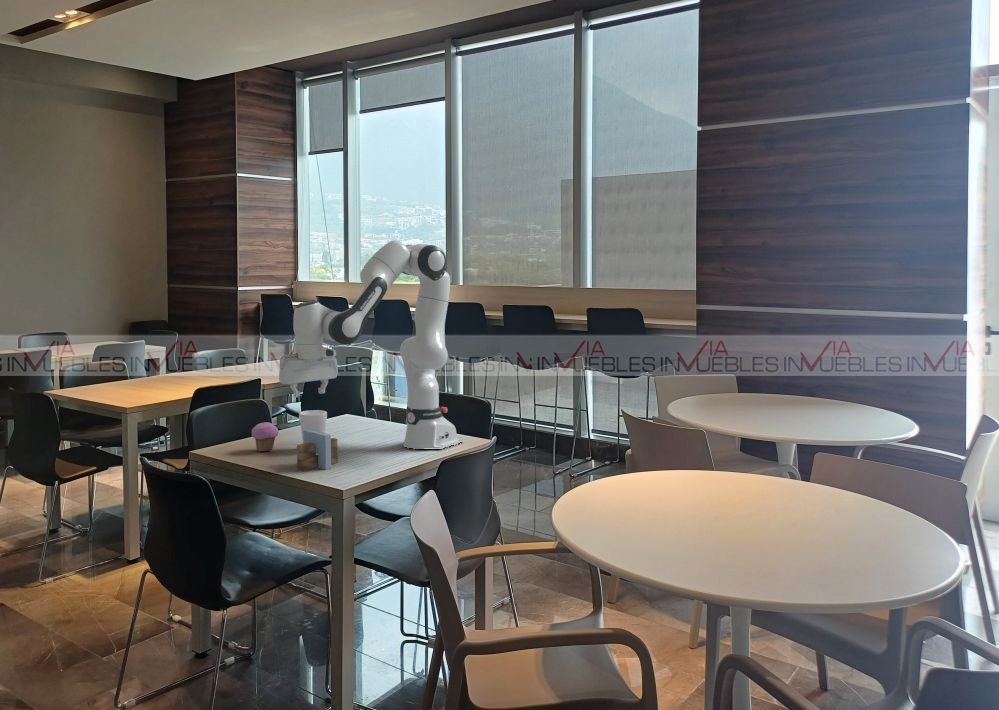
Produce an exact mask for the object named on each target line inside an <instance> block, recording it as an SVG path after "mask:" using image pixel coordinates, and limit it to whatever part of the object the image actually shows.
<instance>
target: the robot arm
mask: <svg viewBox="0 0 999 710" xmlns="http://www.w3.org/2000/svg"><path fill="white" fill-rule="evenodd" d="M362 267H363V268H362V269H361V271H360V273H359V275H360V276H359V277H360V281H361V282H360V283H361V284H362V286H363V290H362V292H361V293H360V295H359V296H358V297H357V298H356V300H355V301H354V302H353V304H352V305H351V306H350V308H348V309H346V310H344V311H337V310H334V309H331V308H328V307H326V306H325V305H323V304H321V303H320V302H319V301H317V300H310V301H303V302H300V303H298V304H297V305H296V306H295V307H294V311H293V325H292V326H293V332H294V340H293V353H290V354H283V356H281V358H279V371H278V373H279V374H278V381H279V382H280V384H282V385H289V388H290V389H291V390H292V393H293V394H292V396H293V397H294V398H299V397H301V391H300V390H298V389H297V387H298V384H299V383H300V384H301V383H308V382H316V381H317V382H318V381H320V382H321V384H320V387H318V388H317V390H318V394H320V395H322V394H326V388H327V385H328V384H329V380H332V379H333V380H334V379H337V376H338V375H339V369H338V368H339V367H338V360H337V358H336V356H337V351H336V349H333V348H329V347H326V346H323V341H324V340H328V341H331V342H336V343H339V344H341V345H351V344H353V343H355V342H356V341H358V339H360V337H361V334H362V332H363V329H364V326H365V324H366V322H367V320H369V319H368V318H369V317H370V316H371V315H372V313H373V312H374V311H375V309H376V308H377V306H378V305H379V304H380V302H381V300H382V299H383V298H384V297H385V295H386V293H387V291H388V290H389V289H390V287H391V286H392V285H393V284H394V283H395V282H396V281H397V279H398V278H399V277H400V276H401V274H404V275H406V276H413V277H418V280H419V289H418V292H417V298H416V304H415V308H414V315H413V321H414V324H415V336H412V337H411V336H410V337H409V338H406V339H404V340H403V341H402V342H401V344H400V347H399V356H400V358H401V359H402V362H403V368H404V373H405V374H404V375H405V378H406V386H407V406H406V421H407V423H406V430H405V437H404V441H403V447H404V448H405V447H407V448H406V449H409V448H414V449H413V450H415V449H424V448H442V447H445V446H447V445H450V444H453V443H456V442H459V441H458V440H459V439H457V437H458V436H457V429H456V426H455V425H454V424H453V423H452V422H450V421H449V420H447V419H446V418H445V417H444V415H443V413H445V414H446V413H447V412H448V410H449V409H448V407H446V406H445V407H444V406H441V407H440V406H439V405H440V404H439V403H440V399H439V398H440V391H439V390H440V389H439V382H438V380H437V379H436V374H435V370H436V371H437V370H439V369H442V368H444V366H445V365H446V363H447V361H448V360H449V359H448V357H449V353H448V350H447V347H446V334H445V333H446V332H445V326H446V319H447V312H448V305H449V301H450V293H451V277H450V274H449V273H448V272H447V257H446V253H445V251H444V250H443V249H442V248H441V247H439V246H437V245H433V244H423V243H417V244H407V245H405V244H404V243H402V242H401V241H399V240H390V241H388V242H386V244H384V245H383V246H381V247H380V248H379V249H378V250H377V251H376V252H375V253H374V254H373V255H372V256H371V257H370V258H369V259H368V260H367V262H366V263H365V265H363V266H362Z"/></svg>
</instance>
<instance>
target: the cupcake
mask: <svg viewBox="0 0 999 710" xmlns="http://www.w3.org/2000/svg"><path fill="white" fill-rule="evenodd" d="M278 435H279V429H278V427H277V426H275V425H274V424H273V423H271V422H266V421H264V422H260V423H258V424H256V425H255V426H254V427H253V428H251V437H252V438H254V440H255V446H256V450H257V451H258V450H260V451H259V452H261V451H264V452H267V451H270V452H271V451H273V449H274V445H275V440H276V437H277V436H278Z"/></svg>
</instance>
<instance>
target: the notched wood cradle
mask: <svg viewBox="0 0 999 710" xmlns="http://www.w3.org/2000/svg"><path fill="white" fill-rule="evenodd" d="M338 455H339V453H338V438H336V437H335V438H334V437H331V465H335V464H338V461H339V460H338ZM296 465H297V466H296V467H297V468H296V470H298V471H300V472H302V471H306V470H311V469H312V470H313V469H315V468H316V469H317V468H318V454H316V455H314V443H311V442H310V443H304V444H303V443H301V444H296Z"/></svg>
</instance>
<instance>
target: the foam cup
mask: <svg viewBox="0 0 999 710" xmlns="http://www.w3.org/2000/svg"><path fill="white" fill-rule="evenodd" d="M298 420H299V423H300V431H301V437H302V438H301V439H303V430H308V429H309V430H313V431H317V432H321V433H325V432H326V425H327V420H328V412H327V411H326V410H319V409H317V410H316V409H315V410H314V409H313V410H310V409H309V410H303V411H299V413H298Z"/></svg>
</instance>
